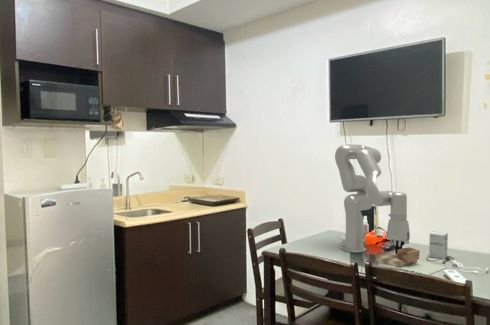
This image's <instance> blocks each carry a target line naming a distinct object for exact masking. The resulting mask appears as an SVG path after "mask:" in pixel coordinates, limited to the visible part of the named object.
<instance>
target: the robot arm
mask: <svg viewBox="0 0 490 325" xmlns="http://www.w3.org/2000/svg"><path fill="white" fill-rule="evenodd" d="M350 160H356V161H357V162H358V165H359V167H360V169H361V171H362V172H363V174H364V175H361V174H356V171H355V167H354V165H353V164H352V163H351V162H350ZM381 160H382V155H381V152H380V150H378V149H377V148H374V147H371V146H366V145H364V144H342V145H340V146H338V148H336V151H335V154H334V161H335V164H336V165H337V169H338V172H339V177H340V181H341V185H342V188H343V190H344V192H346V193H353V194H349V195H347V196H345V198H344V201H343V207H344V212H345V240H344V239H342V240H341V242H340V244H341V245H344V246H343V247H342V250H343V251H345V252H347V253H348V252H349V253H365V252H367V248H366V247H365V246H364V218H363V214H362V212H361V211H368V210H370V209H372V207H373V205H374V206H375V207H387V206H390V213H388V217H389V219H388V222H387V238H389V239H388V240H390V242H391V243H392V244H393V245H394V252H395V254H397V251H398V249H403V246H405V245H407V244H410V235H411V234H410V233H411V232H410V225H409V221H408V217H407V216H408V215H407V214H408V213H407V210H408V209H407V207H408V204H407V203H408V202H407V201H408V198H407V196H408V195H407V193H404V192H399V191H398V192H396V191H393V190H382V191H380V190H379V188H378V186H377V182H376V180H377V178H378V177H380V175H382V170H381V168H380V166H379V163H380V162H381ZM388 240H387V241H388Z"/></svg>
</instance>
